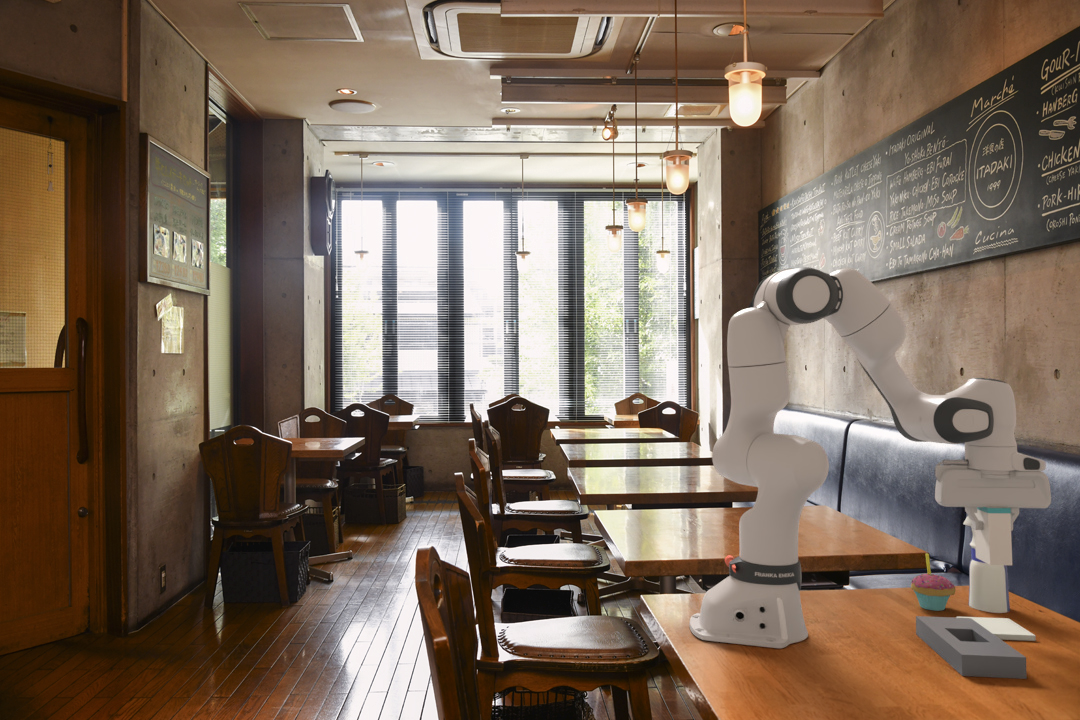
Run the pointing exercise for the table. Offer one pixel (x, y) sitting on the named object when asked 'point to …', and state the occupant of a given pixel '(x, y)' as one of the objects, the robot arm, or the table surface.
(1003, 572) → the water bottle
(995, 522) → the plug
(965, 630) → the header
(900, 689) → the table surface
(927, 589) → the cupcake
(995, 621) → the mat
